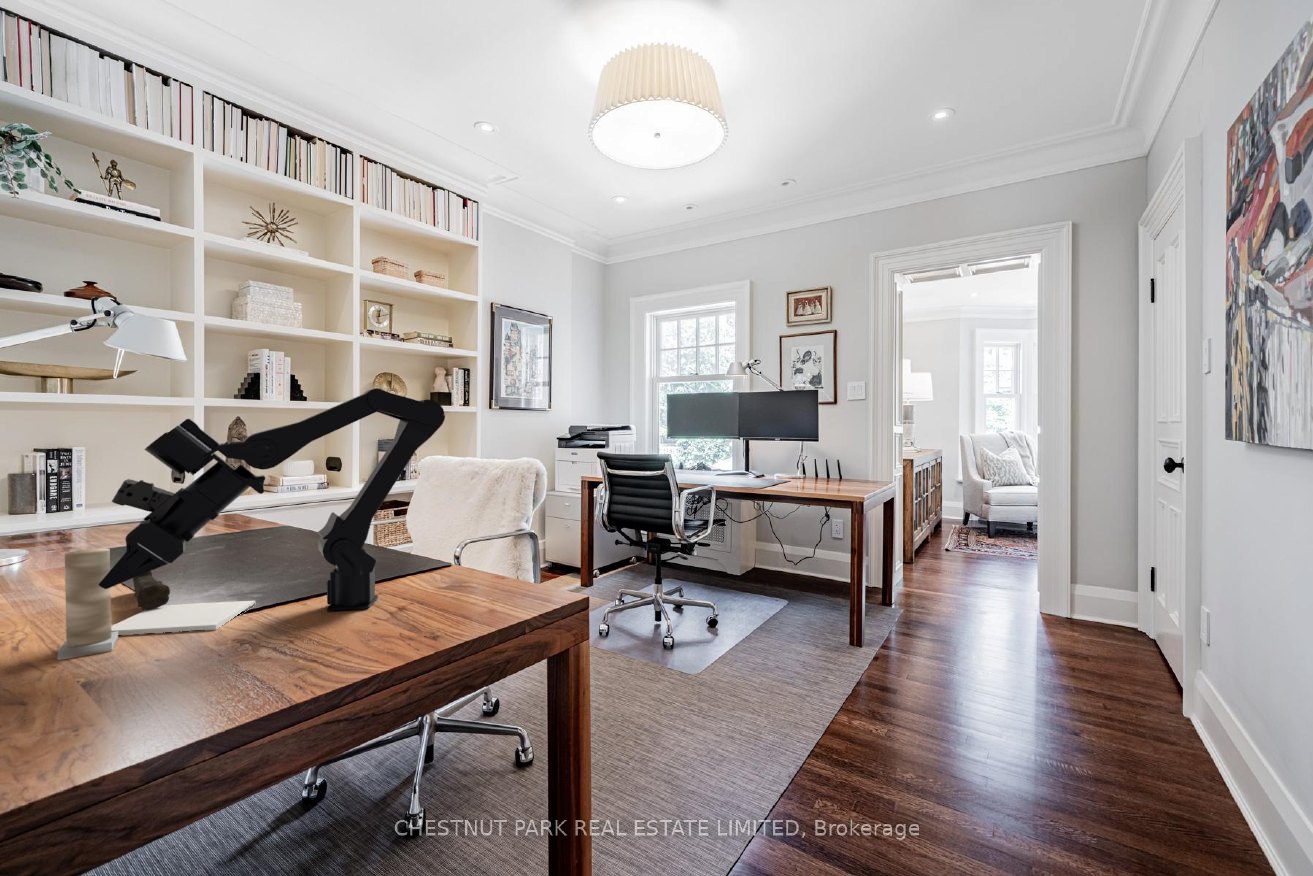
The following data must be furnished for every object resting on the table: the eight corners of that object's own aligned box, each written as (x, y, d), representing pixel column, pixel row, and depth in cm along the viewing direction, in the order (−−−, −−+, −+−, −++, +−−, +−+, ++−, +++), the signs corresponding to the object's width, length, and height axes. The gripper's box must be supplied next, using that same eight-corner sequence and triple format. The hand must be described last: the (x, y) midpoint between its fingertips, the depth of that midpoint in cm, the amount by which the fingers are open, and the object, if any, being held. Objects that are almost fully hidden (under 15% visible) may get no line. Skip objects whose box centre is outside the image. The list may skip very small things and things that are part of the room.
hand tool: (171, 605, 94) (168, 578, 94) (139, 612, 91) (136, 584, 91) (161, 587, 108) (158, 563, 108) (132, 593, 105) (130, 568, 105)
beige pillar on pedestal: (118, 639, 82) (116, 546, 82) (111, 650, 78) (109, 552, 78) (67, 647, 79) (65, 550, 79) (57, 660, 75) (55, 558, 75)
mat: (255, 605, 98) (255, 600, 98) (215, 629, 86) (215, 624, 86) (155, 610, 95) (155, 605, 95) (100, 636, 83) (100, 631, 83)
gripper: (165, 456, 90) (66, 532, 84) (149, 463, 75) (28, 556, 69) (227, 502, 95) (139, 578, 89) (224, 517, 80) (118, 609, 73)
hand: (108, 579), depth 80 cm, fingers open, 9 cm apart
